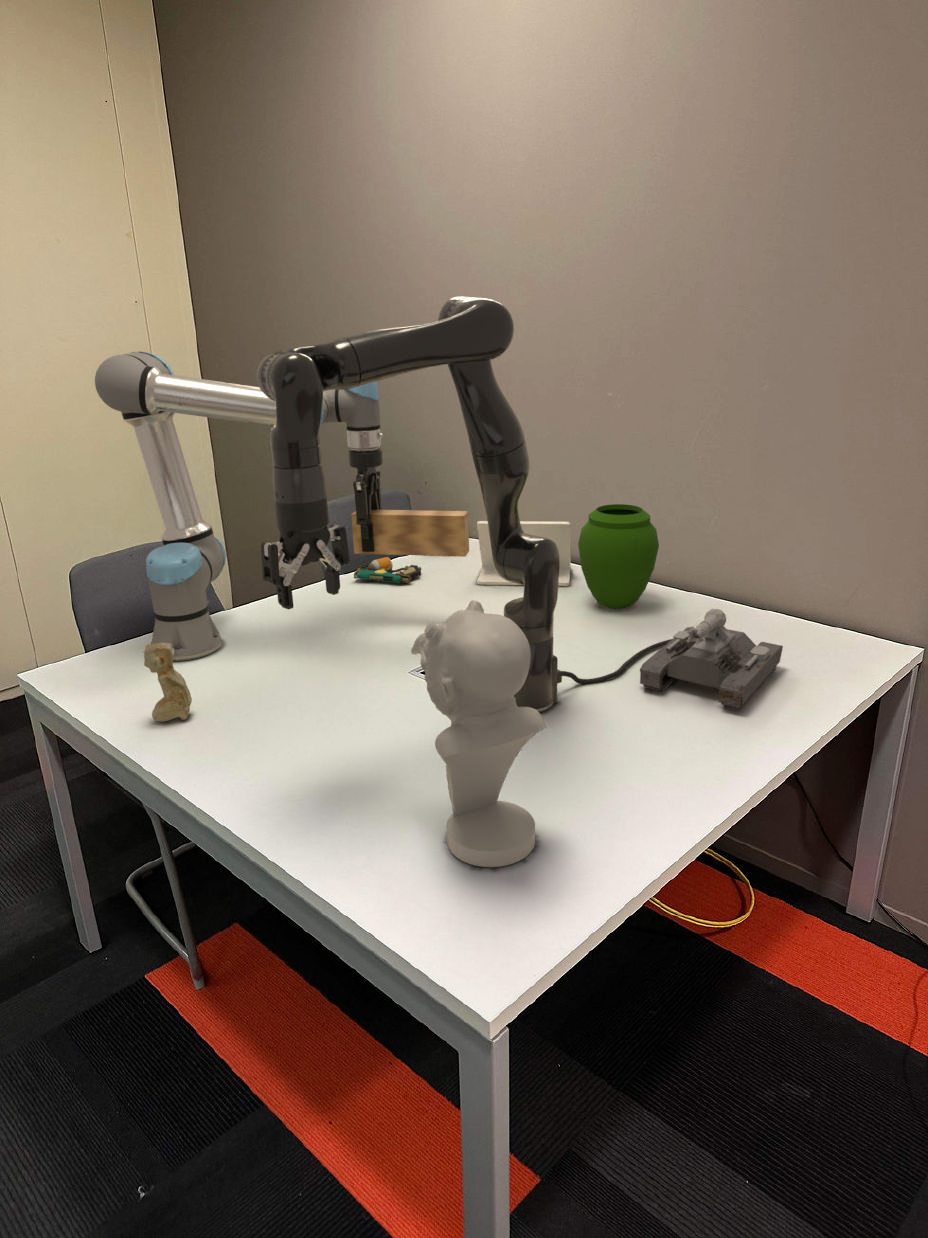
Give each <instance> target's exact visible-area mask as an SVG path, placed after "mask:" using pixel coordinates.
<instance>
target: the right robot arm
mask: <svg viewBox="0 0 928 1238" xmlns="http://www.w3.org/2000/svg"><path fill="white" fill-rule="evenodd" d="M514 332H515V325H514V319H513V317H512V315H511V313H510V311H509V310H508V309H507V307H506V306H505V305H503V304H502V303H500V302H499V301H496V300H494V299H490V298H487V297H486V298H485V297H478V296H469V295H458V296H454V297H451V298H450V299H448V300H446V302H444V304H443V305H442V307H441V308H440V310H439V314H438V317H437V321H433V322H430V323H424V324H418V325H416V324H415V325H409V326H399V327H390V328H380V329H375V330H374V329H373V330H369V331H364V332H359V333H356V334H352V335H348V336H343V337H340V338H336V339H334V340H330V341H328V342H324V343H319V344H312V345H305V346H299V347H297V346H296V347H292V348H287V349H286V348H285V349H282V350H278V351H274V352H272V353H270V354H267V356H265V357H264V358H263V359H262V361H260V363H259V365H258V367H257V371H256V382H257V385H258V386H257V387H259V388H260V390H261V391H262V392H263V394H264V395H266V396H267V397H268V398H269V399H271V400H273V401H275V402H276V425H274V426H271V429H270V431H269V432H270V433H269V444H270V452H271V461H272V489H273V490H272V491H273V498H274V499H273V500H274V507H275V515H276V516H275V518H276V526H277V529H278V531H279V539H278V541H275V542H268V541H263V542H262V543H260V551H261V552H260V553H261V566H262V567H261V571H262V580H263V581H264V582H265V583H268V584H271V585H274V586H276V594H277V603H278V605H279V606H281V608H283V609H286V610H292V609H294V596H293V587H292V584H291V582H292V580H293V578H294V575H295V574H297V573H298V572H299V570H300V568H301V566H303V567H304V566H306V565H308V564H310V563H316V562H317V563H318V562H320V563H322V565H323V566H324V567H325V568H326V569H324V579H325V589H326V593H327V594H330V595H333V596H336V595H338V594H339V593H340V589H341V577H340V570H341V568H342V567H343V566H344V565H348V564H349V563H350V560H351V559H350V551H349V543H348V537H347V535H348V534H347V529H346V527H345V526H341V525H337V524H331V525H330V526H329V523H330V518H329V517H330V515H329V506H328V495H327V482H326V476H325V470H324V466H323V458H322V457H323V456H322V447H321V446H322V445H321V438H320V429H321V426H320V423H321V416H322V405H323V391H326V390H344V389H351V388H355V387H358V386H362V385H366V384H369V383H373V382H376V381H377V382H379V381H383V380H387V379H391V378H394V377H397V376H401V375H405V374H408V373H409V374H410V373H413V372H416V371H421V370H425V369H430V368H433V367H439V366H445V365H447V367H448V370H449V373H450V375H451V378H452V381H453V384H454V387H455V390H456V394H457V398H458V401H459V405H460V410H461V414H462V418H463V422H464V426H465V429H466V433H467V438H468V442H469V448H470V452H471V456H472V461H473V464H474V465H473V466H474V468H475V473H476V476H477V479H478V482H479V487H480V491H481V496H482V501H483V506H484V509H485V515H486V521H488V528H489V536H490V544H491V551H492V558H493V563H494V566H495V569H496V571H497V573H498V575H499V576H500V577H501V578H503V579H504V580H506V581H509V582H513V583H517V584H521V585H520V586H523V595H522V597H518V598H514V599H511V600H510V601H508V602H506V603H505V604H504V607H503V616H505V617H507V618H509V619H511V620H512V621H513V622H514V623H515V624H516V625H517V626H518V627H519V628H520V629H521V630H522V632H523V633H524V634H525V636H526V638H527V640H528V643H529V646H530V652H531V653H530V655H531V656H530V666H529V671H528V675H527V678H526V680H525V683H524V685H523V686H522V688H521V689H520V690H519V691H518V692H517V693H516V694H515V695H514V697H515V698H516V705H517V706H518V707H530V708H533V709H536V710H537V711H538V712H539V713H542V712H545V711H547V710H549V709H551V708H552V706H553V705H555V704H557V703H558V685H559V684H561V683H562V682H563V677H565V678H570V679H571V680H572V681H574V682H575V683H577V684H579V685H580V684H581V685H590V684H591V685H592V684H599V683H602V682H604V681H605V682H606V681H609V680H611V679H613V678H616V677H618V676H619V675H621V674H622V673H624V672H625V670H626V669H627V668H628V667H629V666H630V665H631V664H633V663H634V662H635V661H637V660H638V659H639V658H640V657H642V656H643V655H645V654H647V653H649V652H651V651H654V650H656V649H658V648H660V647H661V648H662V647H664V646H665V645H666V644H667V643H669V642H670V641H671V640H672V639H673V638H670V639H666V640H662V641H659V642H657V643H654V644H651V645H649V646H647V647H645V648H643V649H641V650H640V651H638V652H636V653H635V654H633V655H632V656H631V657H629V658H628V659H627V660H626V661H625V662H624V663H623V664H622V665H621V666H620V667H619V668H618V669H616V670H615V671H613V672H611V673H608V674H605V675H603V676H599V677H594V678H579V677H578V676H577V675H576V674H575V673H573V672H570V671H566V670H560V669H558V661H559V660H558V657H557V656H556V655H555V654H554V619H555V618H554V617H555V615H554V614H555V609H556V607H557V603H558V593H559V586H558V580H559V565H560V560H559V551H558V548H557V546H556V544H555V543H554V541H552V540H551V539H548V538H544V537H540V536H535V535H530V534H525V533H524V532H523V530H522V527H521V524H520V521H521V519H520V515H519V500H520V498H521V495H522V493H523V491H524V488H525V486H526V482H527V480H528V477H529V473H530V458H529V453H528V447H527V443H526V442H527V441H526V438H525V433H524V431H523V428H522V425H521V423H520V420H519V419H518V417H517V414H516V413H515V411H514V409H513V407H512V406H511V403H509V401H508V399H507V398H506V396H505V394H504V393H503V391H502V389H501V387H500V385H499V384H498V381H497V379H496V376H495V372H494V368H493V364H492V361H493V360H495V359H498V358H499V357H500V356H501V357H502V355H503V354H504V353H506V351H507V350H508V349H509V347H510V346H511V343H512V341H513V338H514ZM328 526H329V528H328ZM329 542H331V548H332V551H331V549H329V547H328V544H329ZM281 552H282V555H281ZM280 556H281V557H280ZM279 557H280V559H279ZM289 562H291V563H289Z"/></svg>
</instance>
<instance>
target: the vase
mask: <svg viewBox="0 0 928 1238" xmlns="http://www.w3.org/2000/svg"><path fill="white" fill-rule="evenodd" d="M587 516H588V517H587V518H588V521H587V522H586V523H585V524H584V525H583V526H582V527H581V529H580V534H579V538H578V541H577V546H578V554H579V562H580V569H581V571H582V574H583V577H584V580H585V583H586V585H587V588H588V590H589V591H590V594H592V597H593V598H594V600H595V601H596V602H597V603H598V604H599V605H600V606H602V607H604V608H606V609H609V610H625V609H628V608H630V607H632V606H634V604H636V602H638V601H639V599H640V597H641V596H642V595H643V593H644V592H645V590H646V588H647V586H648V584H649V581H650V579H651V577H652V574H653V572H654V570H655V566H656V562H657V557H658V552H659V548H660V544H659V543H660V542H659V537H658V531H657V528H656V527H655V526H654V524H653V523H652V522H651V515H650V514H649V512H647V511H645V510H644V509H643V508H642V507H641V506H638V505H633V504H622V503H621V504H619V503H616V504H615V503H614V504H604V505H601V506H598V507H597V508H595V509H594V510H592V511H591V512H590V513H589V514H588V515H587Z"/></svg>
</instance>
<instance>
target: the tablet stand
mask: <svg viewBox="0 0 928 1238" xmlns="http://www.w3.org/2000/svg"><path fill="white" fill-rule="evenodd" d="M520 524H521V527H522V530H523V532H524V533H525V534H530V535H535V536H540V537H544V538H548V539H551V540H552V541H554V543H555V544H556V546H557V548H558V551H559V560H560V565H559V580H558V587H569V586H570V580H571V579H570V578H571V565H572V564H571V560H572V558H571V522H569V521H537V520H536V521H529V520H528V521H525V520H524V521H523V520H522V521H521V520H520ZM476 531H477V537H478V544H479V551H480V557H481V558H480V559H481V570H480V573H479V575H478V577H477V580H476V581H477V582H476V584H478V585H484V586H485V585H486V586H487V585H489V586H490V585H491V586H522V585H521V584H517V583H513V582H509V581H506V580H504V579H503V578H501V577H500V576H499V575H498V573H497V571H496V569H495V566H494V563H493V558H492V551H491V544H490V536H489V528H488V521H487V520H477V522H476Z"/></svg>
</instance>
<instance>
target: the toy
mask: <svg viewBox="0 0 928 1238" xmlns="http://www.w3.org/2000/svg"><path fill="white" fill-rule="evenodd" d="M726 623H727V615H726V613H725V612H724V611H723V610H722V609H718V608H711V609H709V610H708V611H707V612H705V615H704V619H703V620H702V621H701V622H699V624H697V625H696V626H694V625H692V626H688V627H685V628H684V629H683V630H678V631H677V632H675V634H674V635H673V636H672V638H671V639H672V640H671V641H670V642H669V643H667V644H666V645H665V646H661V648H660V649H659V650H657V651H656V652H655V653H654V654H652V655H651V656H650V657H649V658H648V659H647V660H645V661H644V662H643V663H642V664H641V666H640V668H639V673H640V675H639V685H643V687H644V688H646V689H647V688H648V689H651V690H656V691H660V692H663V691H664V690H665V689H666V688H667V687H668V686H670V685H671V684H672V683H673V682H674V681H676V680H679V681H682V682H686V683H687V682H688V683H692V684H695V685H696V684H697V685H699V686H704V687H710V688H714V689H717V690H718V691H719V692H718V702H717V703H719V704H721V705H723V706H727V707H731V708H735V709H739V710H742V709H743V708H744V707H745V705H746V704H748V702H749V701H750V700H751V699H752V697H754V695H755V694H756V693H757V692H758V691H759V690H760V688H761V687H762V686H763V685H764V684H765V683H766V681H768V679H769V678H770V677H771V676H772V675H773V674H774V672H775V671H776V670H777V667H778V665H779V664H780V662H781V658H782V653H783V648H784V645H781V644H776V643H771V642H765V641H760V642H759V643H758V644H757V645H756V643H754V641H753V640H752V638H750V637H749V636H748V635H747V634H746V633H745V632H744V631H740V630H733V629H729V628H726V626H725V625H726Z"/></svg>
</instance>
